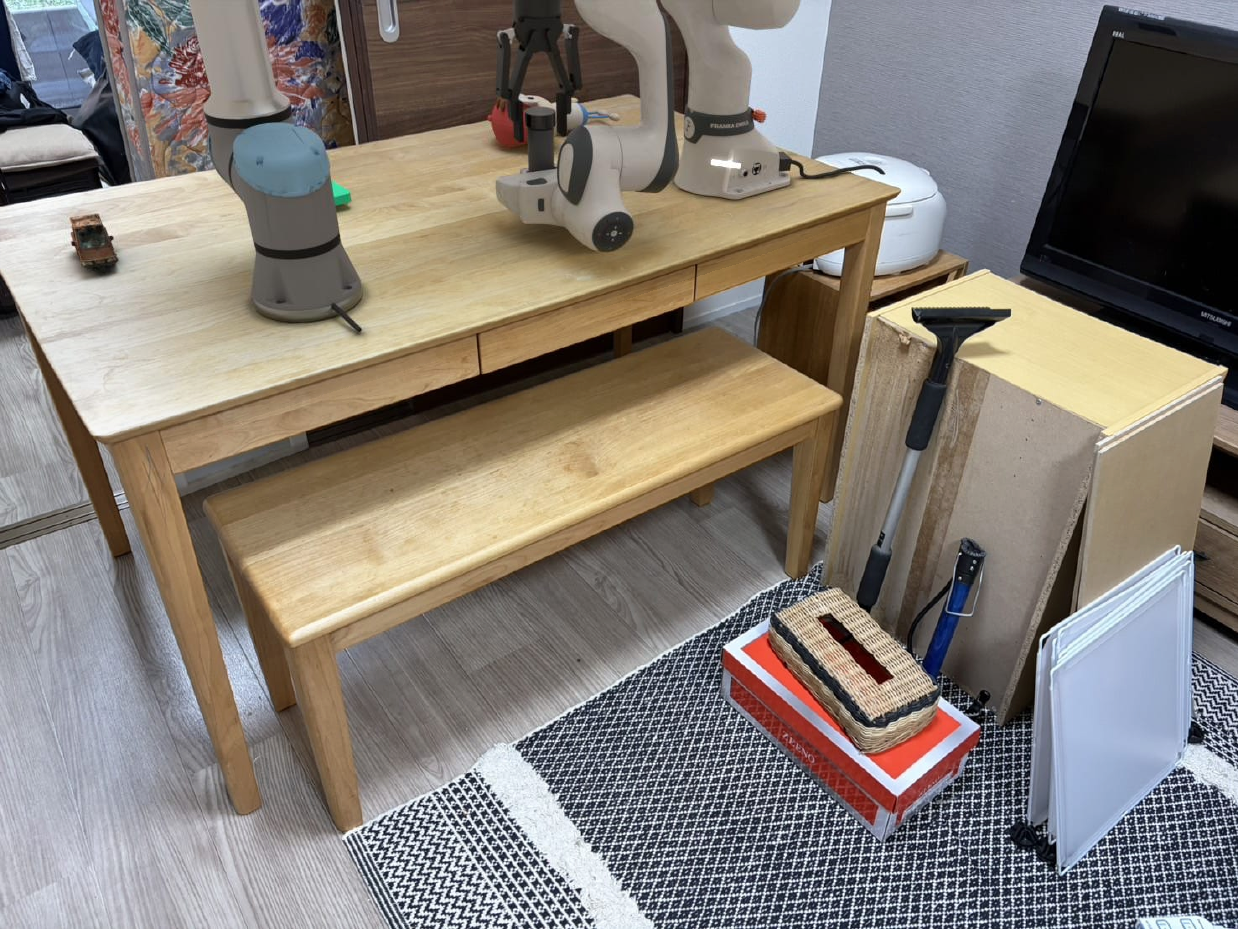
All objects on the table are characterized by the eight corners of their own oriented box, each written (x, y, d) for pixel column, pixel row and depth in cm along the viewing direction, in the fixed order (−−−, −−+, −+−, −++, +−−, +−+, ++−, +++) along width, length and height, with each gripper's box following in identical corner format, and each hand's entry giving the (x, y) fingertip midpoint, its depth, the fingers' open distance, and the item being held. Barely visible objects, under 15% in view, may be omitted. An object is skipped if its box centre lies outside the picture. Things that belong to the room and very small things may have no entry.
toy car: (109, 242, 148) (95, 200, 144) (132, 268, 141) (118, 225, 137) (66, 252, 145) (51, 209, 141) (87, 279, 138) (72, 235, 133)
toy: (638, 98, 193) (509, 99, 178) (634, 148, 198) (509, 154, 183) (593, 85, 207) (469, 85, 192) (590, 133, 211) (469, 136, 196)
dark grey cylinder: (526, 206, 165) (523, 111, 155) (550, 203, 166) (548, 109, 157) (534, 215, 162) (531, 119, 152) (558, 212, 163) (557, 117, 153)
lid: (531, 130, 152) (531, 117, 151) (520, 122, 156) (519, 108, 155) (560, 127, 154) (560, 113, 153) (548, 118, 158) (548, 105, 157)
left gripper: (584, -22, 149) (584, 123, 163) (466, -14, 141) (476, 138, 155) (605, -13, 144) (603, 136, 158) (484, -5, 136) (493, 151, 150)
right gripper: (629, 170, 153) (593, 144, 163) (513, 187, 145) (483, 159, 155) (627, 206, 157) (593, 180, 166) (514, 225, 149) (485, 196, 159)
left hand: (540, 136), depth 156 cm, fingers open, 7 cm apart
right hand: (539, 170), depth 161 cm, fingers closed on dark grey cylinder, 4 cm apart
